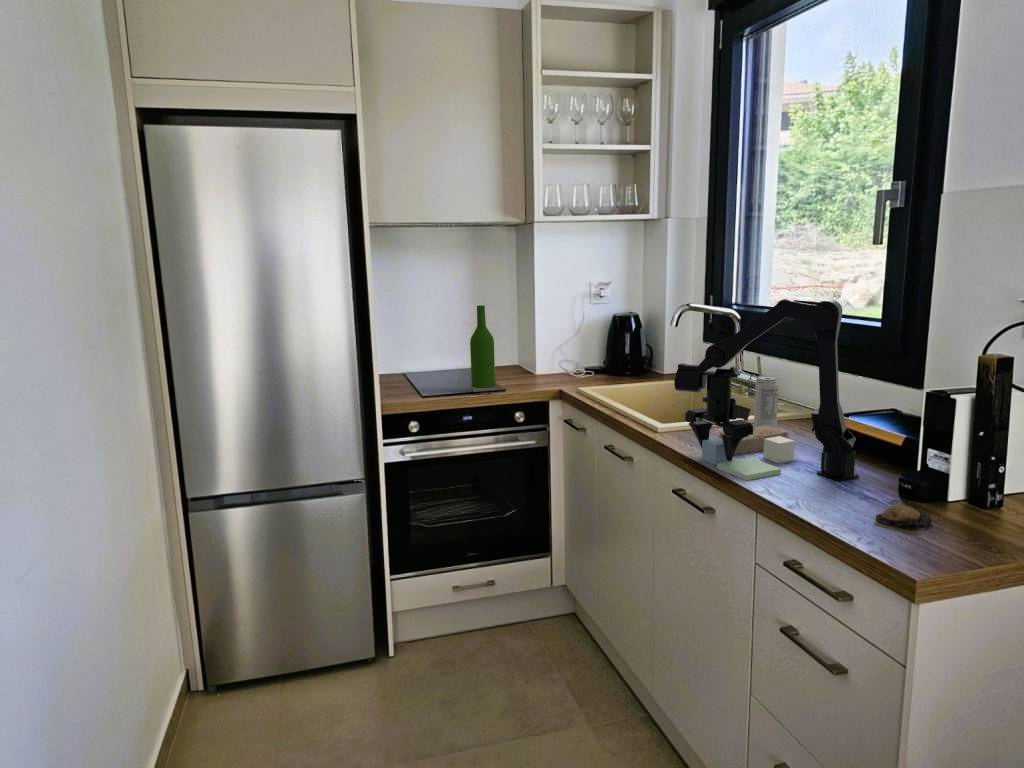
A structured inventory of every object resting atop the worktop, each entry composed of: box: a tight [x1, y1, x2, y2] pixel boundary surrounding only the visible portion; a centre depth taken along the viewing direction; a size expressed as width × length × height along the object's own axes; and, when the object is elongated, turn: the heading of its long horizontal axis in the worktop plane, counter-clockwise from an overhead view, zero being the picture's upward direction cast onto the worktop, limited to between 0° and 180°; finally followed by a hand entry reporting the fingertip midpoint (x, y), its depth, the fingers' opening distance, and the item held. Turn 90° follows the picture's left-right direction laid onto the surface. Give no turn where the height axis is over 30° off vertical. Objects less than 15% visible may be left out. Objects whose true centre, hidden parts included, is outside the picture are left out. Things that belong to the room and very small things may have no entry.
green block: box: [716, 457, 782, 481], centre depth 165 cm, size 10×10×1 cm
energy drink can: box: [753, 376, 779, 427], centre depth 199 cm, size 6×6×15 cm
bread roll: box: [873, 504, 932, 536], centre depth 133 cm, size 11×8×4 cm
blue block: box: [701, 437, 733, 466], centre depth 173 cm, size 5×5×5 cm
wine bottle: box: [469, 304, 496, 388], centre depth 262 cm, size 9×9×32 cm
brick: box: [718, 425, 789, 455], centre depth 184 cm, size 17×8×5 cm, turn 109°
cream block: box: [763, 436, 796, 464], centre depth 173 cm, size 5×5×5 cm
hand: (717, 455), depth 173 cm, fingers open, 9 cm apart
